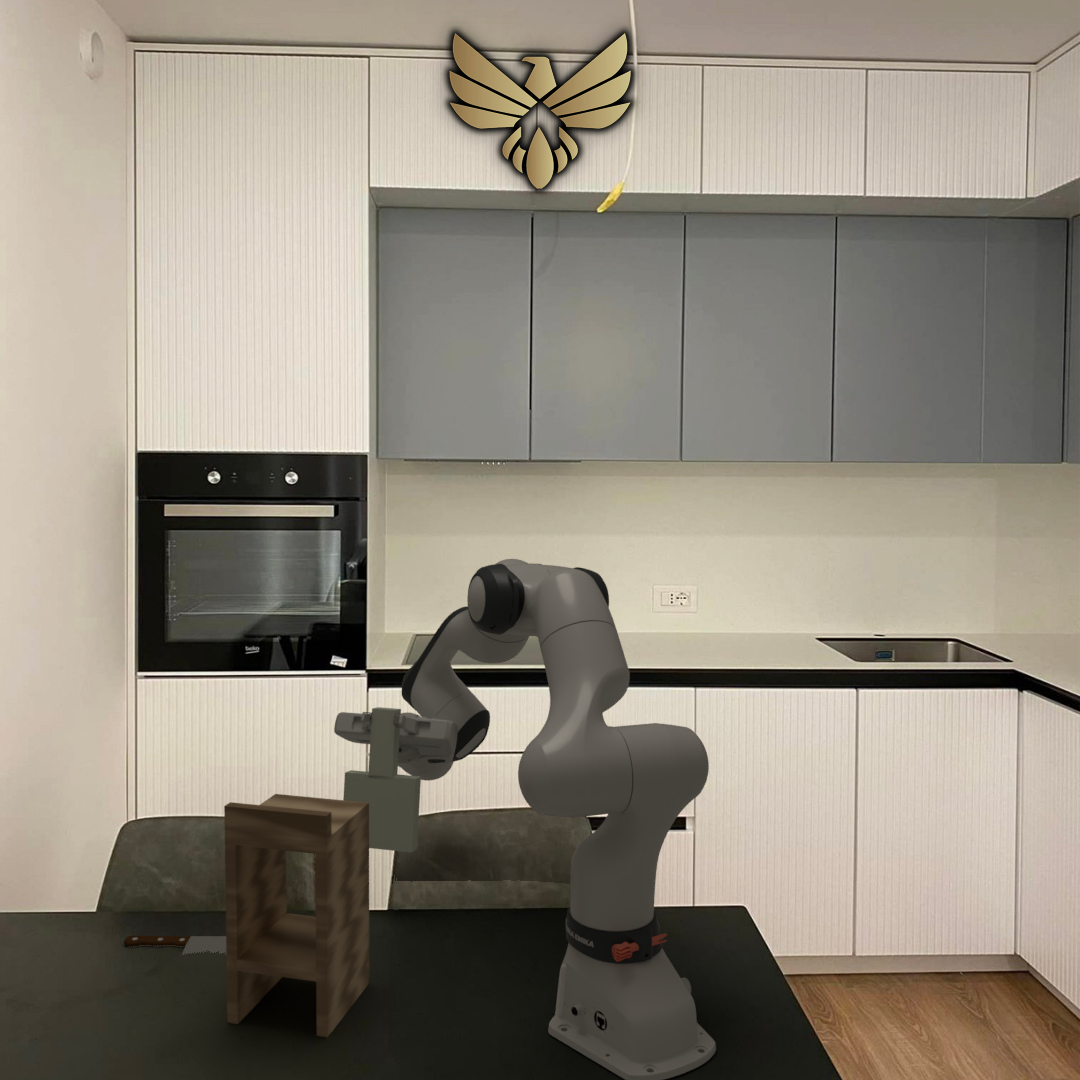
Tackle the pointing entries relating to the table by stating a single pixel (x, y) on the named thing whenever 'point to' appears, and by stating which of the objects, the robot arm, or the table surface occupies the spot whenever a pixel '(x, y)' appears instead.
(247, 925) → the rack
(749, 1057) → the table surface
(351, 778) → the grey paddle board
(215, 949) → the kitchen cleaver
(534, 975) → the table surface
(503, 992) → the table surface
